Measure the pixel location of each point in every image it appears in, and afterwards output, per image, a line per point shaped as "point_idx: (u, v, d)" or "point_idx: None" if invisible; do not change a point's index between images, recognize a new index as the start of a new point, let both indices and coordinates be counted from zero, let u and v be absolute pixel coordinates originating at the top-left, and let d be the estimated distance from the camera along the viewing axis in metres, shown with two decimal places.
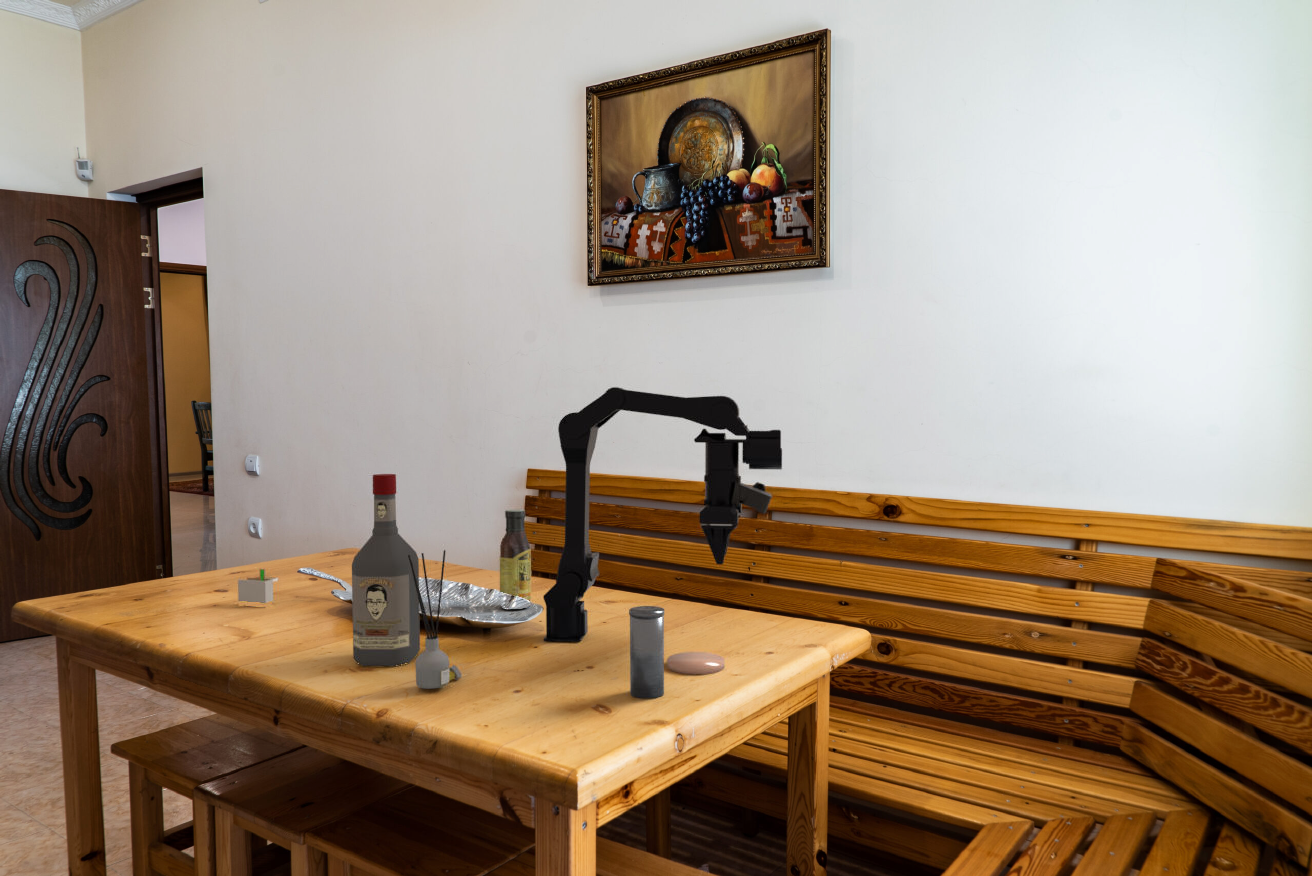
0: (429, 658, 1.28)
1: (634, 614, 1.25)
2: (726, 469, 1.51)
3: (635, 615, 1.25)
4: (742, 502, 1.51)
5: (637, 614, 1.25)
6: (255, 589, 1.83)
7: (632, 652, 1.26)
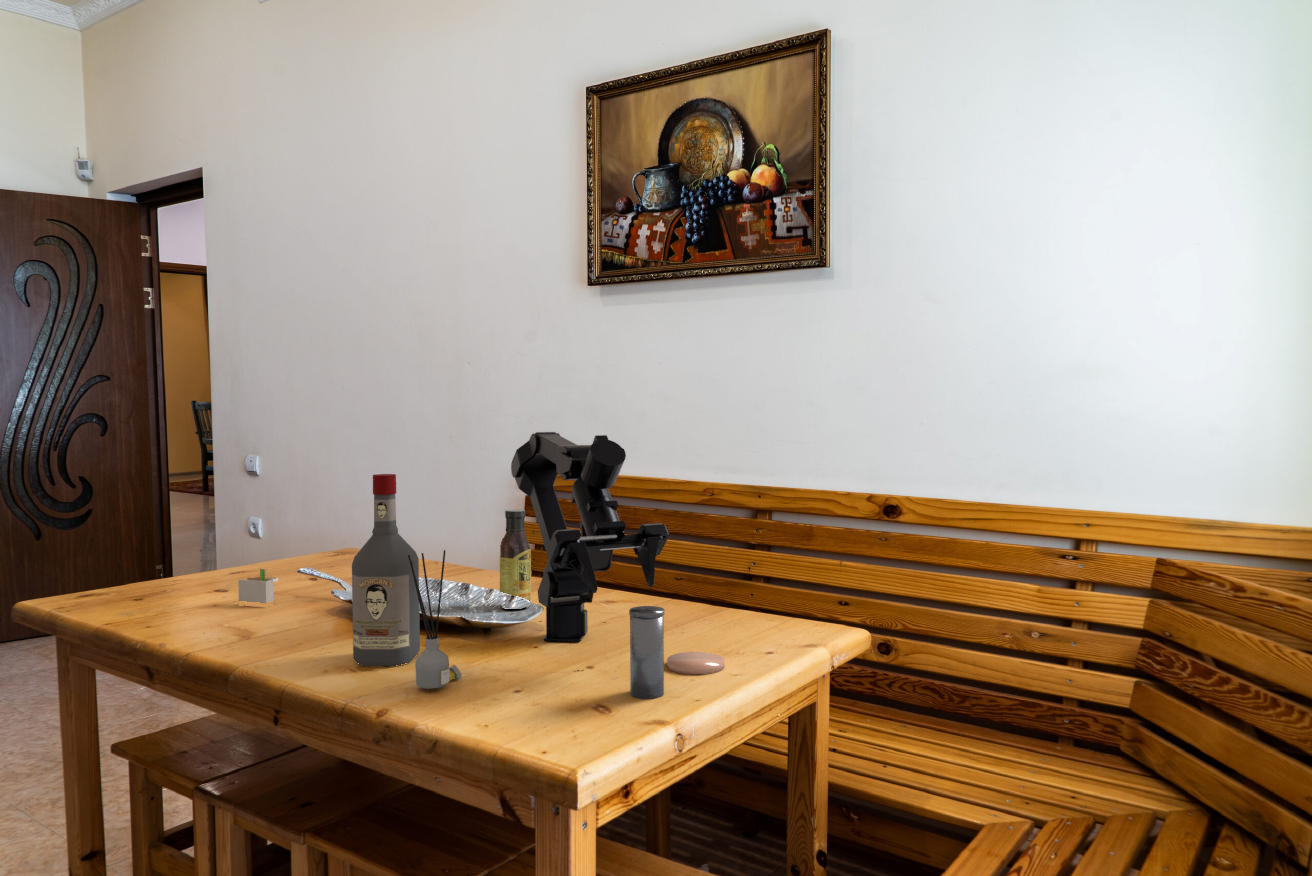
0: (429, 658, 1.28)
1: (634, 614, 1.25)
2: None
3: (635, 615, 1.25)
4: None
5: (637, 614, 1.25)
6: (255, 589, 1.83)
7: (632, 652, 1.26)
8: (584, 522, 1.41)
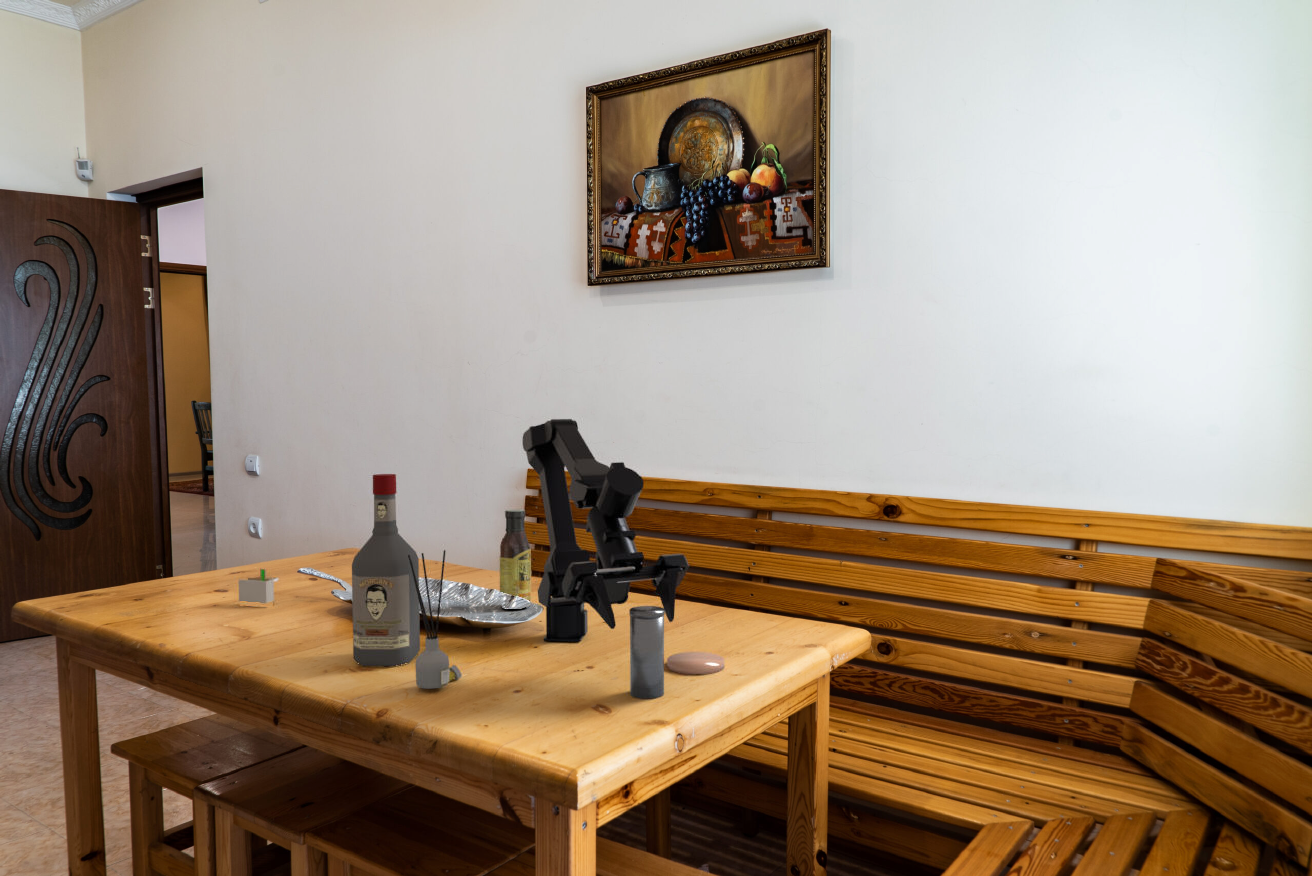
0: (429, 658, 1.28)
1: (635, 614, 1.25)
2: None
3: (635, 615, 1.25)
4: None
5: (637, 614, 1.25)
6: (255, 589, 1.83)
7: (632, 652, 1.26)
8: (600, 553, 1.35)
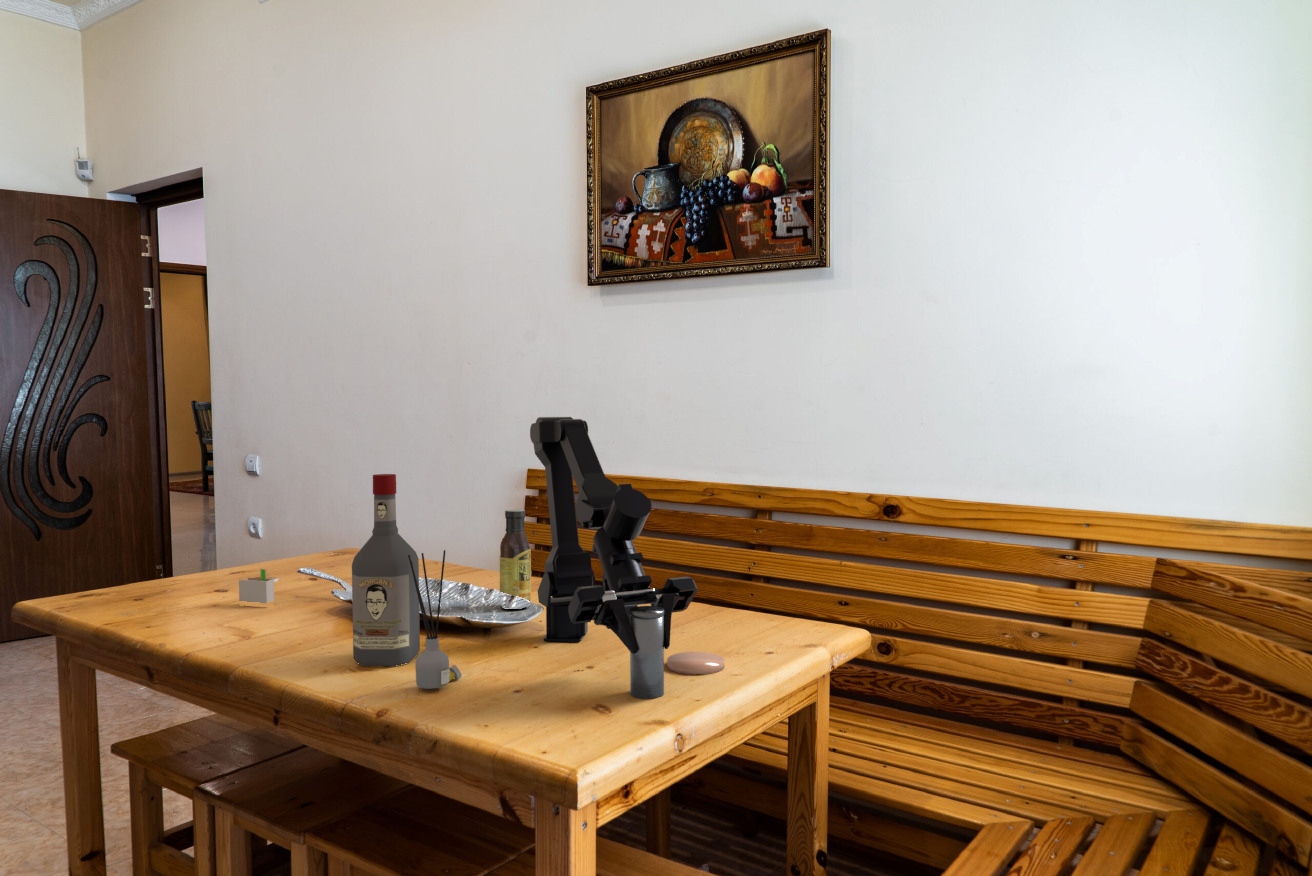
0: (429, 658, 1.28)
1: (634, 614, 1.25)
2: None
3: (635, 615, 1.25)
4: None
5: (637, 614, 1.25)
6: (256, 589, 1.83)
7: None
8: (607, 576, 1.32)
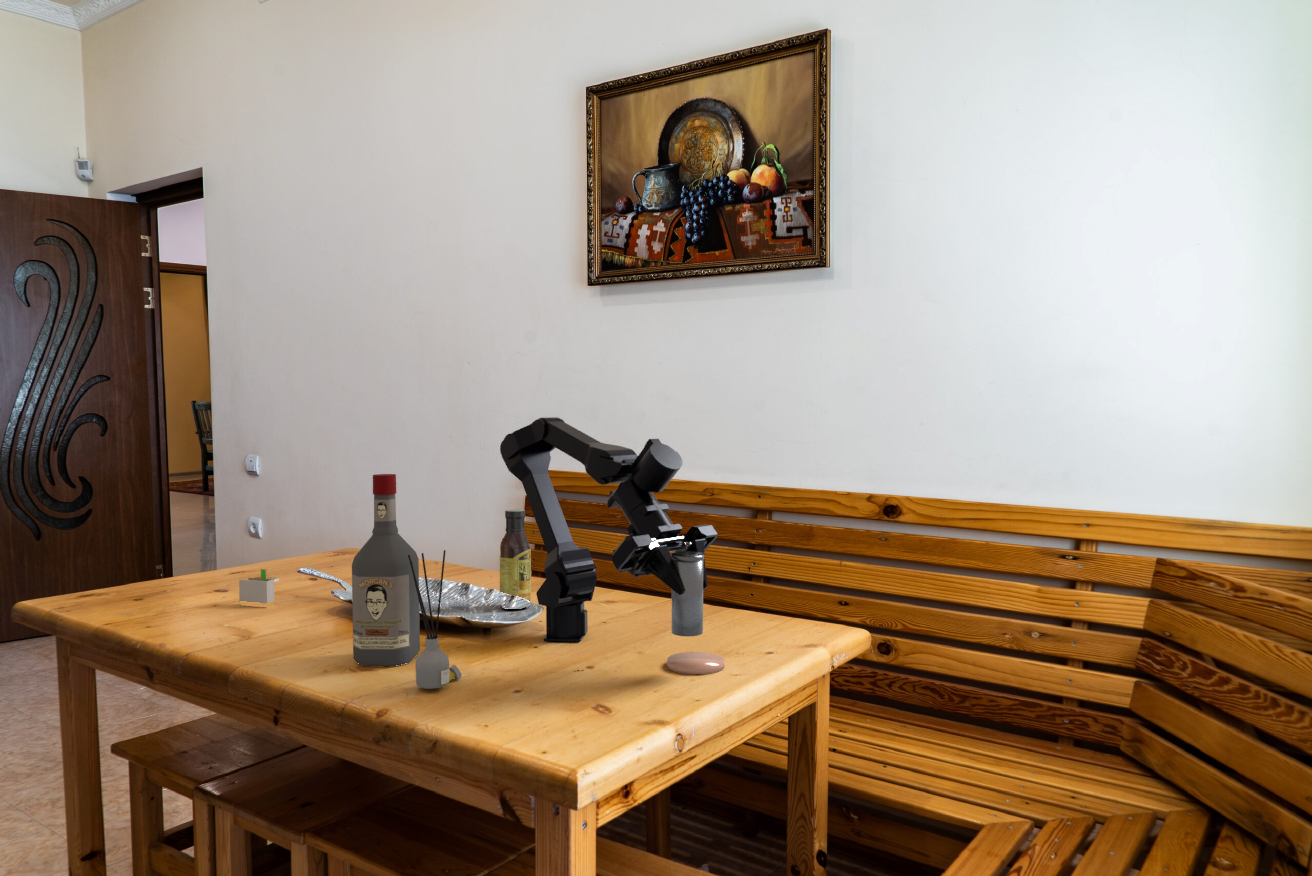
0: (429, 658, 1.28)
1: (681, 559, 1.34)
2: None
3: (682, 559, 1.34)
4: None
5: (684, 558, 1.34)
6: (256, 589, 1.83)
7: (677, 594, 1.35)
8: (639, 526, 1.40)
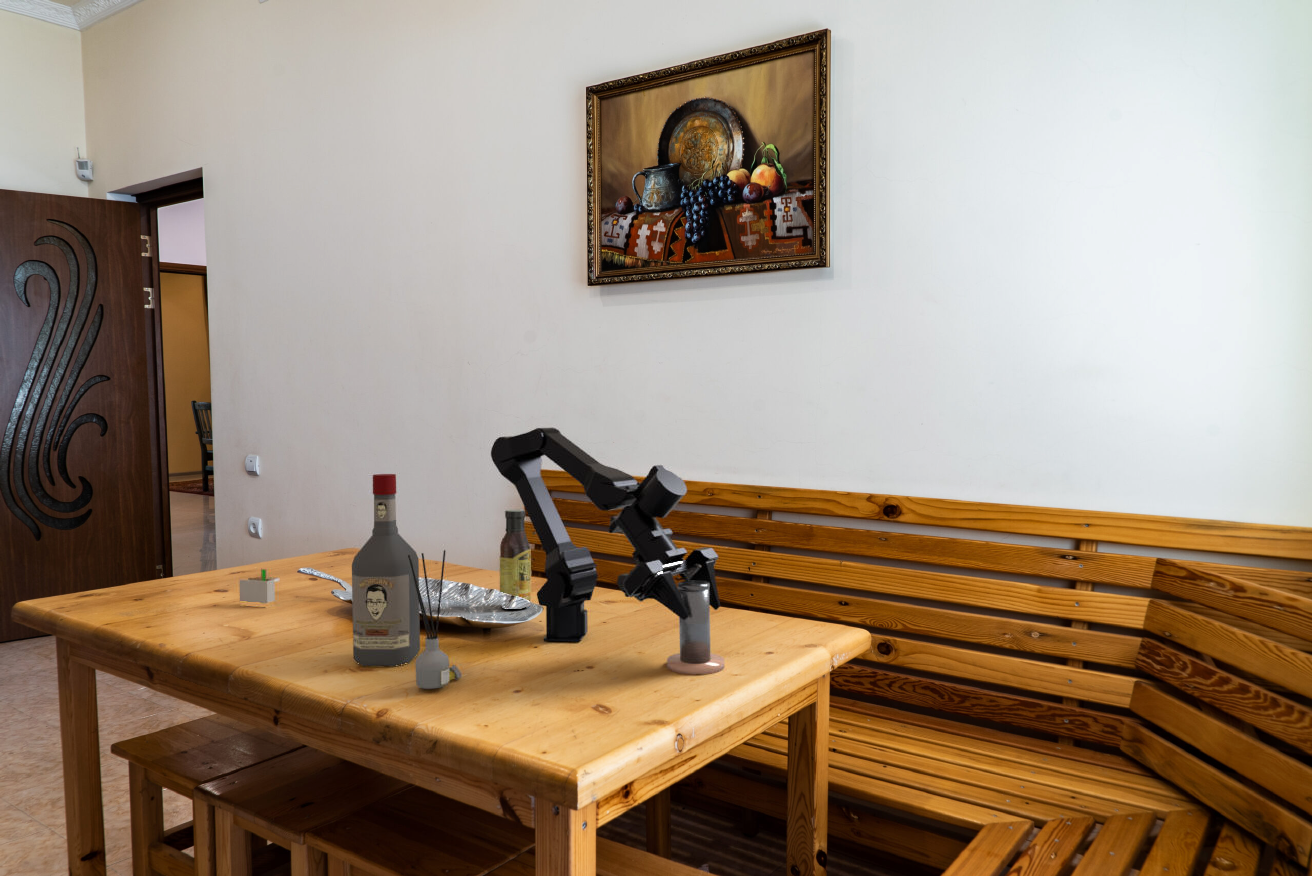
0: (429, 658, 1.28)
1: (689, 588, 1.38)
2: None
3: (690, 589, 1.38)
4: None
5: (693, 587, 1.38)
6: (256, 589, 1.83)
7: (686, 623, 1.38)
8: (646, 552, 1.43)
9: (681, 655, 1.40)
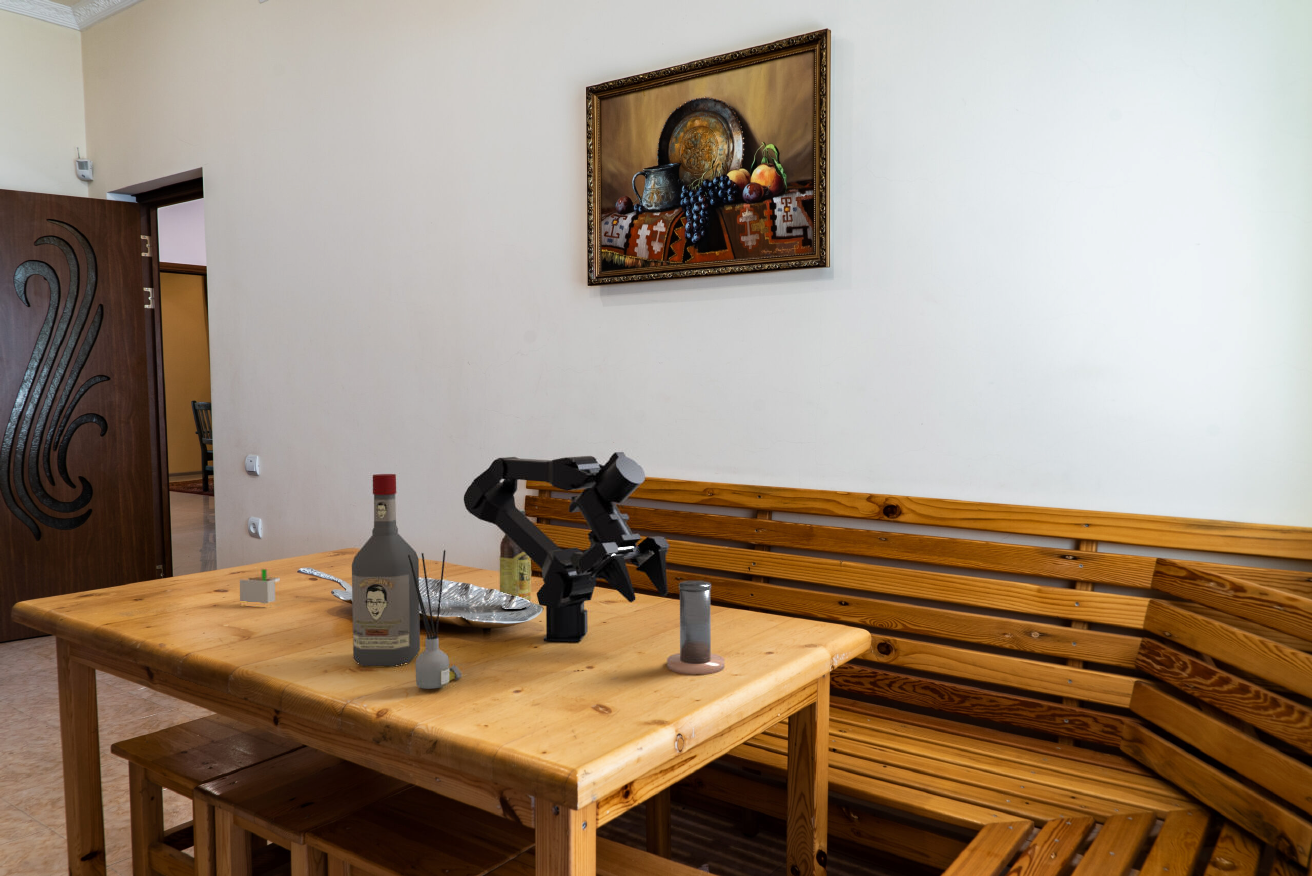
0: (429, 658, 1.28)
1: (690, 588, 1.38)
2: None
3: (692, 589, 1.38)
4: None
5: (694, 587, 1.38)
6: (257, 589, 1.83)
7: (687, 623, 1.38)
8: (602, 533, 1.48)
9: (681, 655, 1.40)
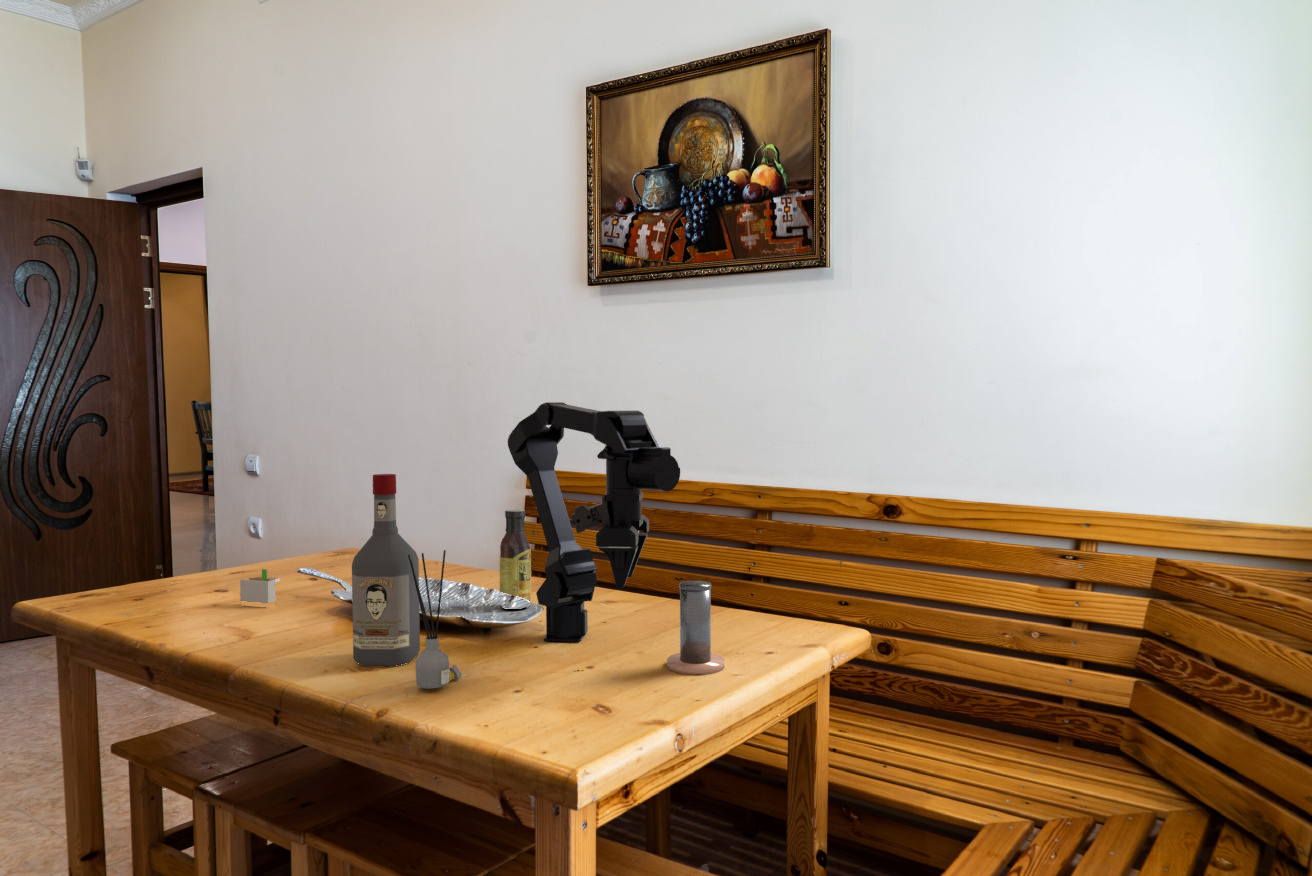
0: (429, 658, 1.28)
1: (691, 588, 1.38)
2: None
3: (692, 588, 1.38)
4: None
5: (694, 587, 1.38)
6: (257, 589, 1.83)
7: (687, 623, 1.38)
8: (621, 506, 1.43)
9: (681, 655, 1.40)
